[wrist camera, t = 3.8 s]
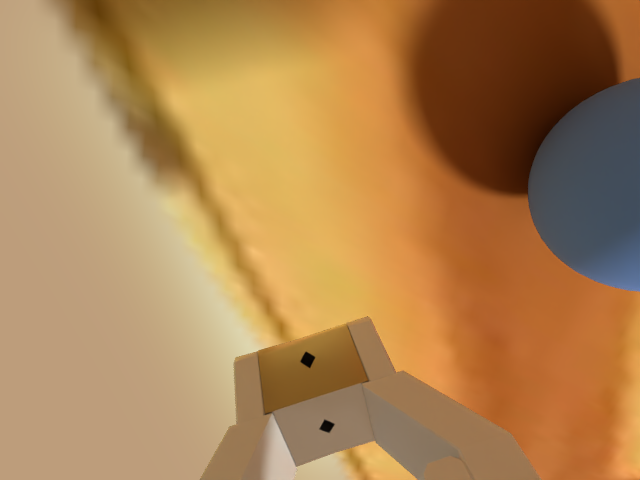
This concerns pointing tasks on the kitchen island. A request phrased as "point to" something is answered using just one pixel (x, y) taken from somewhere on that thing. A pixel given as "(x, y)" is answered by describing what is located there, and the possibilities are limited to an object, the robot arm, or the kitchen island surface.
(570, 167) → the ball
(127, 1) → the kitchen island surface
